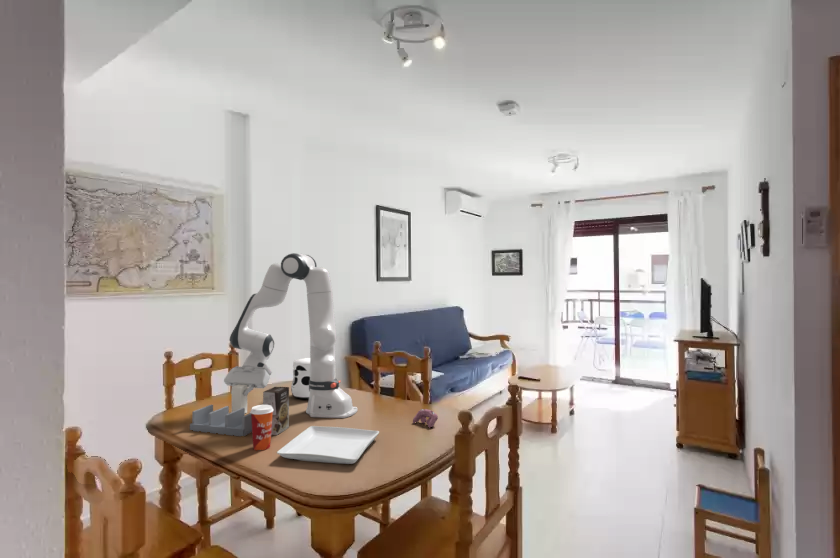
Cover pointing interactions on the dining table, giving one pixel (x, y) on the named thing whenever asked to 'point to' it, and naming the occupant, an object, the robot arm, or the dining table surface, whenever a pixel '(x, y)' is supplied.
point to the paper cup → (261, 426)
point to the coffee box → (278, 408)
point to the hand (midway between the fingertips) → (238, 394)
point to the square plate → (329, 444)
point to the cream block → (239, 397)
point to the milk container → (301, 378)
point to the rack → (221, 421)
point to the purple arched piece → (423, 414)
